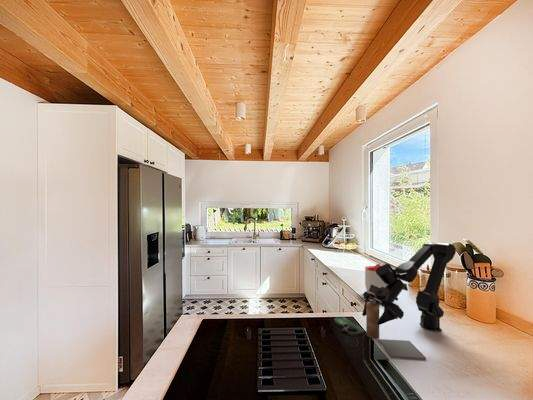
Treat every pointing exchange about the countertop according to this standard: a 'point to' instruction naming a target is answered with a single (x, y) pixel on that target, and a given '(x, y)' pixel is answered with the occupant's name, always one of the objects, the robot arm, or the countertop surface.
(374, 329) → the pepper mill
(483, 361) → the countertop surface
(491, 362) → the countertop surface
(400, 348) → the trivet mat
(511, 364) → the countertop surface
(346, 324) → the gun
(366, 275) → the citrus juicer
